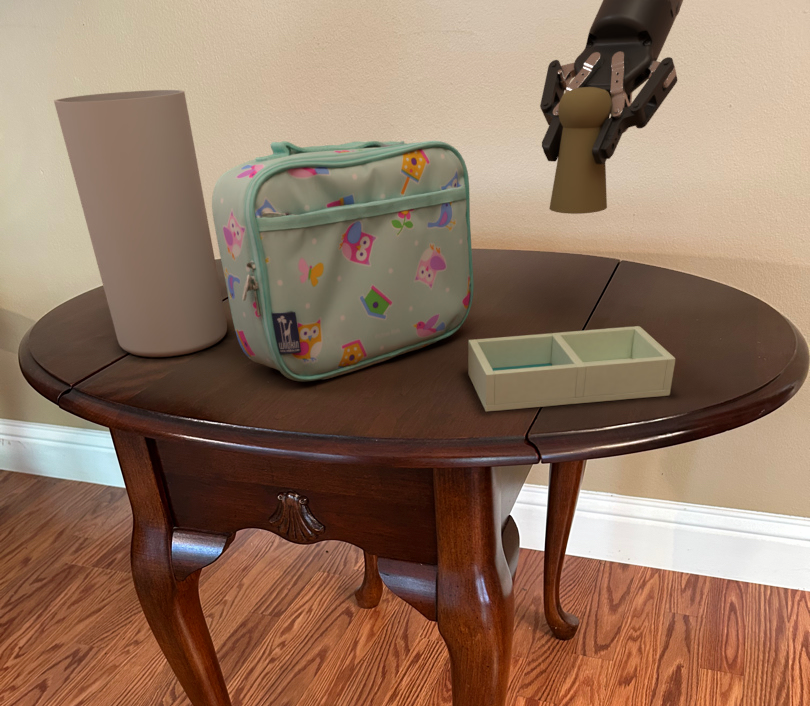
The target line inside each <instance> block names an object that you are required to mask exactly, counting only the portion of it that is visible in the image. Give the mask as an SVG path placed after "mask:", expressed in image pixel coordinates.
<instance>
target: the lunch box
mask: <svg viewBox="0 0 810 706" xmlns="http://www.w3.org/2000/svg"><path fill="white" fill-rule="evenodd" d="M270 149H271V151H272V154H269V155H265V156H257V157H256V158H254V159H251V160H248V161H244V162H243V163H240V164H237V165H235V166H234V167H231V168H229V169H228V170H226V171H225V172H224V173H222V174H221V175H220V176H219V177H218V178H217V180H216V182H215V185H214V187H213V191H212V197H211V210H212V219H213V224H214V229H215V235H216V241H217V247H218V252H219V256H220V261H221V266H222V271H223V276H224V281H225V285H226V292H227V298H228V303H229V308H230V309H229V310H230V313H231V318H232V322H233V326H234V331H235V334H236V338H237V341H238V344H239V346H240V348H241V350H242V352H243V353H244V354H245V356H246V357H247V358H248V359H250V360H251V361H252V362H254V363H256V364H259V365H263V366H266V367H268V368H270V369H271V368H272V369H275V370H277V371H279V372H280V374H281V375H283V376H284V377H286V378H287V379H289V380H291V381H296V382H312V381H313V382H314V381H318V380H322V381H324V380H327V379H332V378H334V377H338V376H342V375H345V374H348V373H352V372H355V371H359V370H361V369H365V368H367V367H370V366H373V365H376V364H379V363H383V362H385V361H387V360H390V359H392V358H395V357H398V356H400V355H403V354H407V353H410V352H413V351H416V350H419V349H422V348H425V347H427V346H430V345H432V344H435V343H437V342H438V341H441V340H444V339H447V338H448V337H451V336H452V335H454V334H455V333H456V332H457V331H458V330H460V328H461V327H462V326H463V324H464V323H465V321H466V320H467V318H468V316H469V314H470V311H471V308H472V305H473V299H474V289H475V288H474V285H475V284H474V266H473V265H474V264H473V249H472V234H471V215H470V214H471V211H470V209H471V207H470V202H471V201H470V178H469V172H468V168H467V165H466V161H465V158H463V156H462V154H461V153H460V151H459V150H458V149H456V148H455V147H454V146H452V145H451V144H449V143H447V142H445V141H440V140H426V141H418V142H410V143H407V142H405V141H404V140H401V141H395V140H394V141H393V140H389V141H378V140H370V141H351V142H347V143H342V144H326V145H316V146H315V145H314V146H313V145H312V146H304V147H301V146H298V145H296V144H294V143H292V142H290V141H285V140H284V141H272V142H271V143H270Z"/></svg>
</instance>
